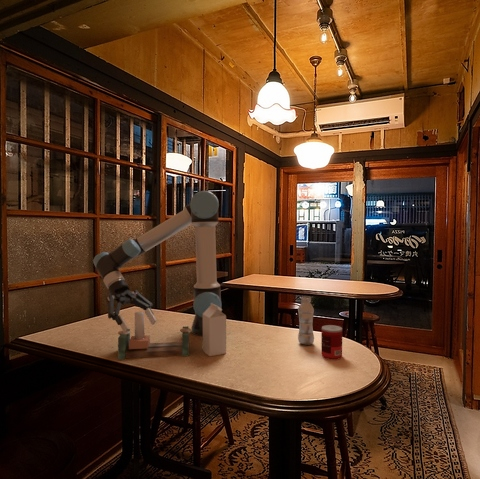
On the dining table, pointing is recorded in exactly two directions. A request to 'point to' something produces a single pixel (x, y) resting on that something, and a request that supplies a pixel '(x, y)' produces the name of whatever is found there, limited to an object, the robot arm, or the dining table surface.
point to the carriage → (139, 334)
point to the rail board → (154, 347)
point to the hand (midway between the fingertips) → (141, 326)
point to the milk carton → (214, 331)
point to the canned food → (331, 342)
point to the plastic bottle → (306, 321)
